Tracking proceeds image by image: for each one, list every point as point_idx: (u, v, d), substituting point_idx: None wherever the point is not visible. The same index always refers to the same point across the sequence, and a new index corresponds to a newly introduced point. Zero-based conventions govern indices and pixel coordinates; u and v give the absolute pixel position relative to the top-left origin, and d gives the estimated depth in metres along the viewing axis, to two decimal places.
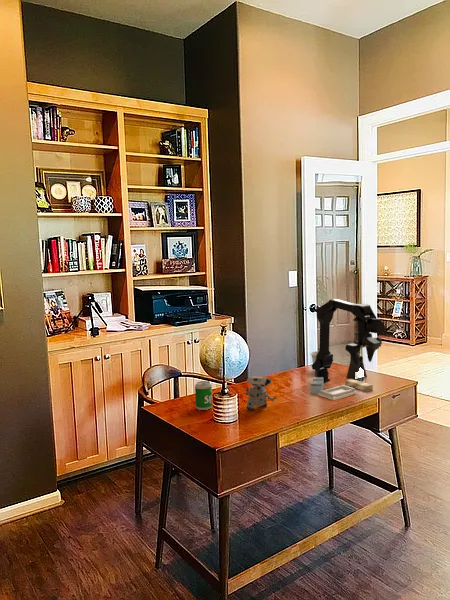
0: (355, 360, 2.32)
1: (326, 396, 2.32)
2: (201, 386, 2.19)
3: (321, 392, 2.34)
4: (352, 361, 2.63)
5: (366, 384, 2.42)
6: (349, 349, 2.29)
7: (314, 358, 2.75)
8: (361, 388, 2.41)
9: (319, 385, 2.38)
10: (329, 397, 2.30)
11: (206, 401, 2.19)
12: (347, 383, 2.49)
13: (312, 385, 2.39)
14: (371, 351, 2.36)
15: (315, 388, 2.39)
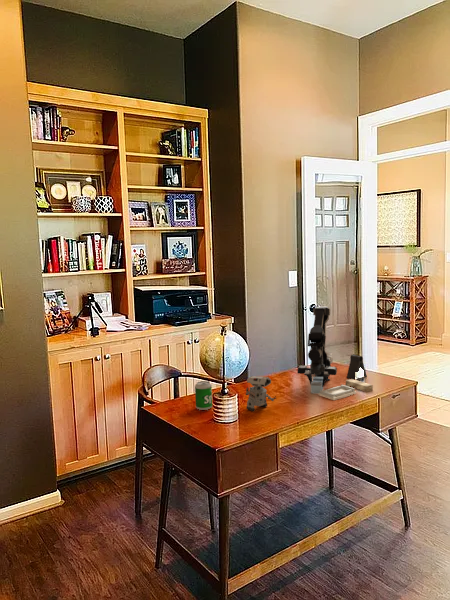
0: None
1: (326, 396, 2.32)
2: (201, 386, 2.19)
3: (321, 392, 2.34)
4: (352, 361, 2.63)
5: (366, 384, 2.42)
6: None
7: None
8: (361, 388, 2.41)
9: (319, 385, 2.38)
10: (329, 397, 2.30)
11: (206, 401, 2.19)
12: (347, 383, 2.49)
13: (312, 385, 2.39)
14: (323, 378, 2.42)
15: (315, 388, 2.39)
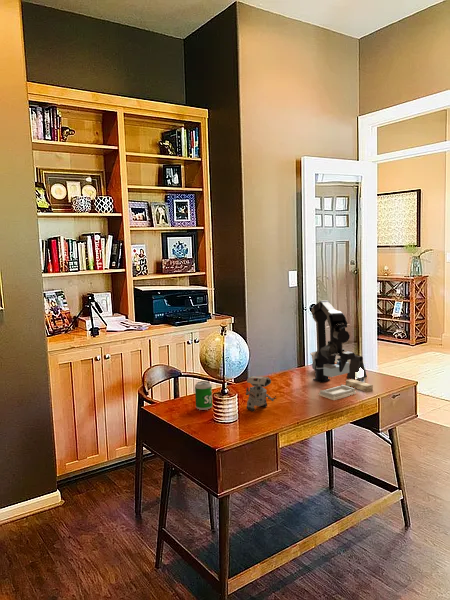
0: None
1: (326, 396, 2.32)
2: (201, 386, 2.19)
3: (321, 392, 2.34)
4: (352, 361, 2.63)
5: (366, 384, 2.41)
6: None
7: None
8: (361, 388, 2.41)
9: (329, 367, 2.30)
10: (329, 397, 2.30)
11: (206, 401, 2.19)
12: (347, 383, 2.49)
13: (324, 366, 2.33)
14: None
15: (326, 370, 2.32)
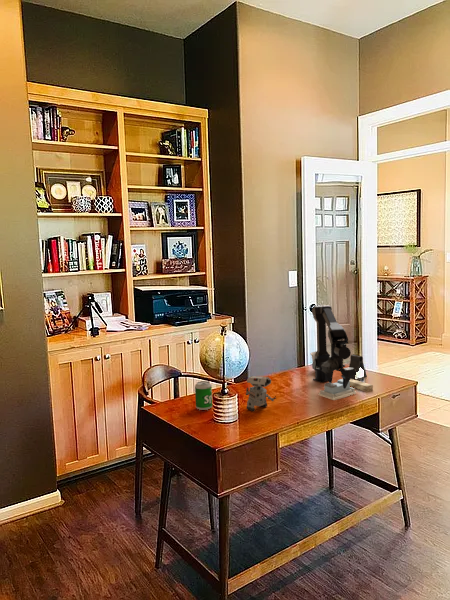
0: None
1: (326, 396, 2.32)
2: (201, 386, 2.19)
3: (321, 392, 2.34)
4: (352, 361, 2.63)
5: (366, 384, 2.41)
6: None
7: (314, 358, 2.75)
8: (361, 388, 2.41)
9: (330, 386, 2.31)
10: (329, 397, 2.30)
11: (206, 401, 2.19)
12: None
13: (325, 385, 2.34)
14: None
15: (327, 389, 2.33)
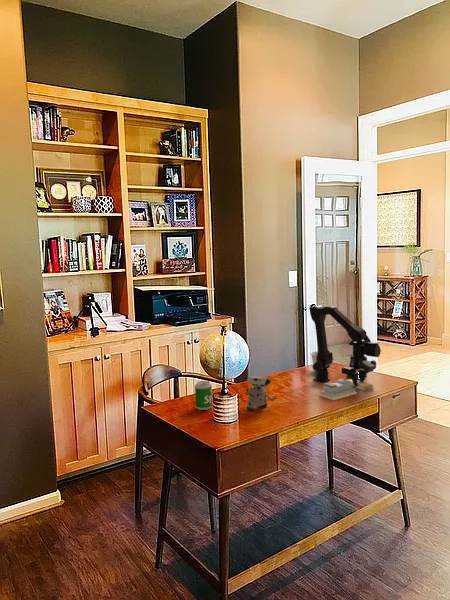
0: (354, 381, 2.43)
1: (326, 396, 2.32)
2: (201, 386, 2.19)
3: (321, 392, 2.34)
4: (352, 361, 2.63)
5: (366, 384, 2.41)
6: (345, 372, 2.39)
7: (314, 358, 2.75)
8: (361, 388, 2.41)
9: (330, 386, 2.31)
10: (329, 397, 2.30)
11: (206, 401, 2.19)
12: None
13: (325, 385, 2.34)
14: (363, 375, 2.46)
15: (327, 389, 2.33)
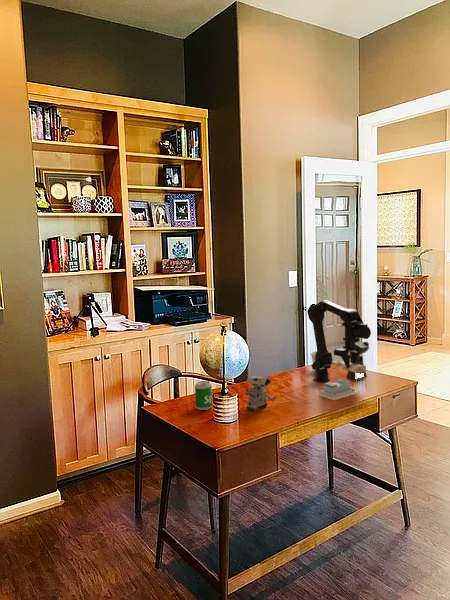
0: (346, 363, 2.38)
1: (326, 396, 2.32)
2: (201, 386, 2.19)
3: (321, 392, 2.34)
4: None
5: (359, 365, 2.37)
6: (337, 354, 2.34)
7: (314, 358, 2.75)
8: (354, 369, 2.36)
9: (330, 386, 2.31)
10: (329, 397, 2.30)
11: (206, 401, 2.19)
12: (339, 365, 2.44)
13: (325, 385, 2.34)
14: (355, 356, 2.41)
15: (327, 389, 2.33)
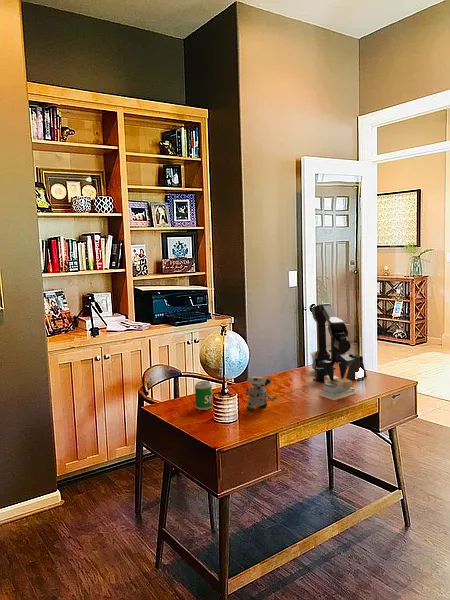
0: (330, 376, 2.33)
1: (326, 396, 2.32)
2: (201, 386, 2.19)
3: (321, 392, 2.34)
4: None
5: (345, 380, 2.31)
6: (322, 366, 2.29)
7: (314, 358, 2.75)
8: (340, 384, 2.31)
9: (330, 386, 2.31)
10: (329, 397, 2.30)
11: (206, 401, 2.19)
12: (326, 379, 2.39)
13: (325, 385, 2.34)
14: (343, 368, 2.36)
15: (327, 389, 2.33)
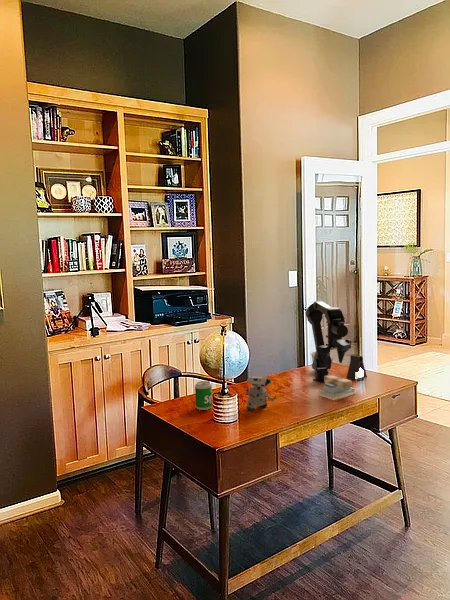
0: (325, 361, 2.40)
1: (326, 396, 2.32)
2: (201, 386, 2.19)
3: (321, 392, 2.34)
4: (352, 361, 2.63)
5: (345, 380, 2.31)
6: (319, 351, 2.37)
7: None
8: (340, 384, 2.31)
9: (330, 386, 2.31)
10: (329, 397, 2.30)
11: (206, 401, 2.19)
12: (326, 379, 2.39)
13: (325, 385, 2.34)
14: (341, 353, 2.45)
15: (327, 389, 2.33)
